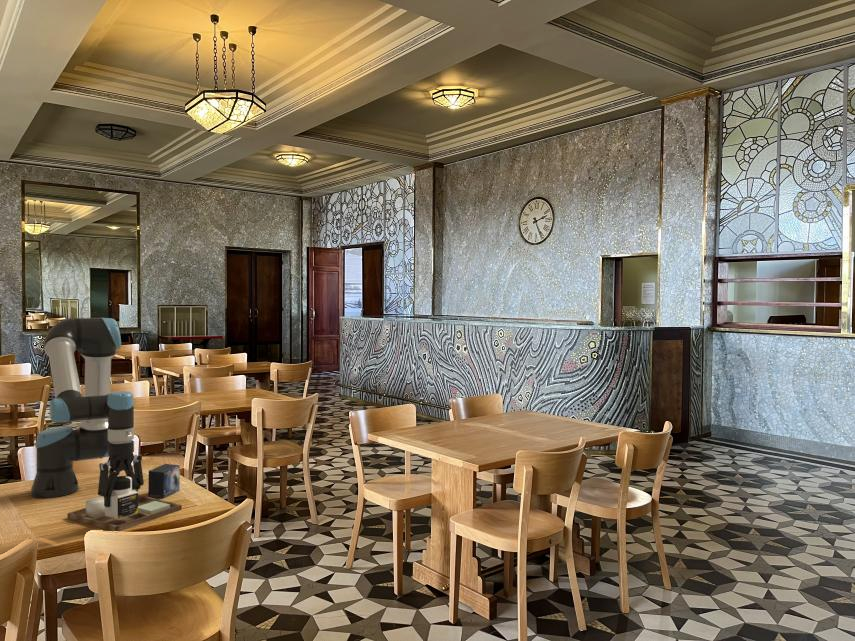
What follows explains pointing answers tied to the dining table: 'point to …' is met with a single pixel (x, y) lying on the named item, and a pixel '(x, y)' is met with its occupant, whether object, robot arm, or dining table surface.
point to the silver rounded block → (95, 508)
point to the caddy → (128, 521)
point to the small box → (164, 481)
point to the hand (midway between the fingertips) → (121, 512)
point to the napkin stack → (153, 507)
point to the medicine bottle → (124, 498)
